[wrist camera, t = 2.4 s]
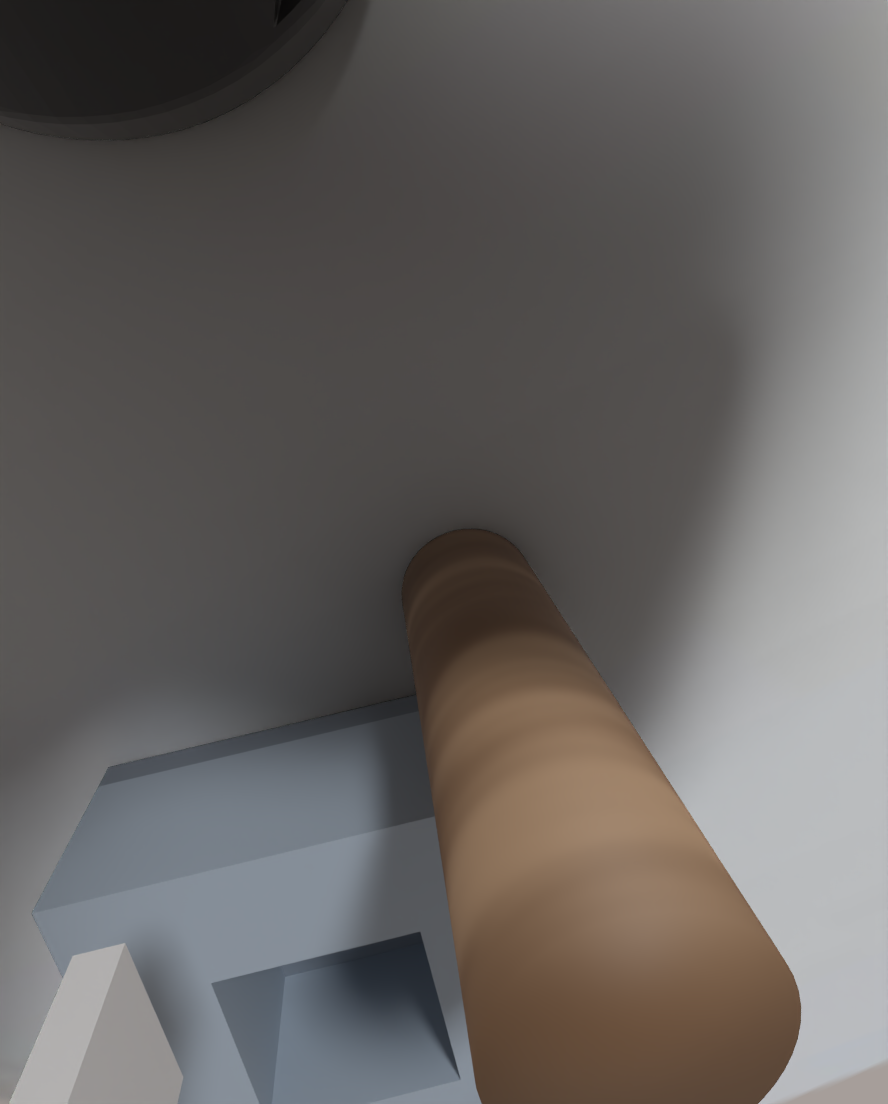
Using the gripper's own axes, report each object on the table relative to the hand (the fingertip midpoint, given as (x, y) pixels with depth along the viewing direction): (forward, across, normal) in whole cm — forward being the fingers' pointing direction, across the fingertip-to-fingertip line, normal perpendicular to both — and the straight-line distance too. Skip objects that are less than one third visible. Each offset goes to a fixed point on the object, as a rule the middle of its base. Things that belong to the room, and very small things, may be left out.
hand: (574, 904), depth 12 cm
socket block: (+12, -6, -9) cm, 16 cm away
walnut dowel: (+12, 0, 0) cm, 12 cm away
